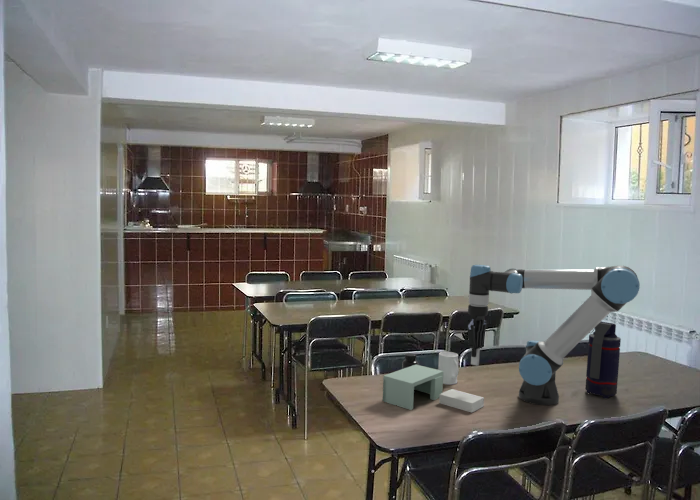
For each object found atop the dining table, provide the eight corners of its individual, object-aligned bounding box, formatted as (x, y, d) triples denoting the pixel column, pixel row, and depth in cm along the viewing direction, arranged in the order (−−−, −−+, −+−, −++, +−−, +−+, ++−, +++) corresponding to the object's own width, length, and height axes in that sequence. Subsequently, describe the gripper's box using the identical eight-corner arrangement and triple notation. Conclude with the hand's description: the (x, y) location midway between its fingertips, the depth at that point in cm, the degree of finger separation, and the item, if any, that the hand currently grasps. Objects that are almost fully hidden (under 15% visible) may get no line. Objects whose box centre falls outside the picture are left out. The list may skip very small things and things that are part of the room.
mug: (464, 386, 245) (466, 358, 244) (446, 387, 242) (447, 359, 241) (451, 377, 256) (452, 351, 255) (433, 379, 253) (434, 352, 252)
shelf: (443, 396, 231) (444, 371, 230) (411, 410, 214) (413, 383, 213) (414, 388, 240) (415, 364, 239) (382, 401, 223) (383, 375, 222)
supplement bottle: (419, 381, 249) (421, 353, 248) (414, 385, 243) (416, 357, 242) (404, 379, 252) (405, 351, 251) (399, 383, 246) (400, 355, 245)
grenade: (592, 387, 249) (597, 318, 246) (621, 394, 240) (626, 323, 238) (578, 394, 239) (583, 322, 237) (607, 402, 231) (613, 327, 228)
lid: (483, 406, 221) (484, 397, 221) (471, 412, 214) (472, 403, 214) (451, 397, 230) (451, 388, 230) (439, 403, 223) (439, 394, 223)
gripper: (477, 301, 233) (474, 359, 235) (461, 305, 223) (457, 365, 226) (494, 304, 229) (491, 363, 231) (479, 308, 219) (475, 369, 221)
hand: (474, 364), depth 228 cm, fingers closed
